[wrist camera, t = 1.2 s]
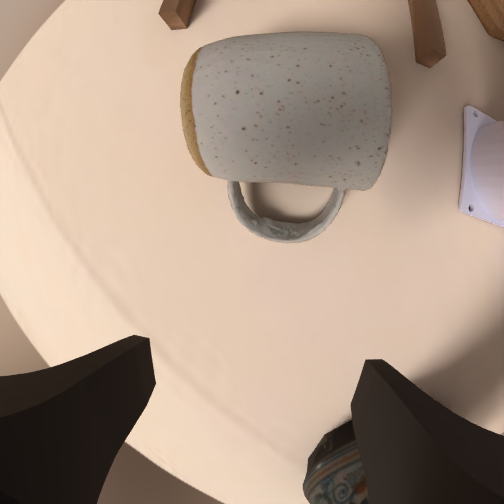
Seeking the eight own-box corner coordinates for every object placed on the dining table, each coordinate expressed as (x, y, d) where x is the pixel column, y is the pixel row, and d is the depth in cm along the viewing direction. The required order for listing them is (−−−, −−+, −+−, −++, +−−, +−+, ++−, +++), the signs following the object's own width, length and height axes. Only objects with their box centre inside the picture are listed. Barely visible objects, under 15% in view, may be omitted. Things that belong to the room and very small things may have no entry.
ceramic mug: (216, 74, 15) (174, 12, 7) (346, 73, 14) (383, 9, 6) (219, 237, 17) (173, 277, 10) (352, 238, 16) (401, 278, 9)
